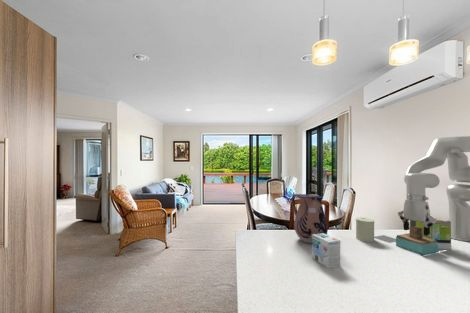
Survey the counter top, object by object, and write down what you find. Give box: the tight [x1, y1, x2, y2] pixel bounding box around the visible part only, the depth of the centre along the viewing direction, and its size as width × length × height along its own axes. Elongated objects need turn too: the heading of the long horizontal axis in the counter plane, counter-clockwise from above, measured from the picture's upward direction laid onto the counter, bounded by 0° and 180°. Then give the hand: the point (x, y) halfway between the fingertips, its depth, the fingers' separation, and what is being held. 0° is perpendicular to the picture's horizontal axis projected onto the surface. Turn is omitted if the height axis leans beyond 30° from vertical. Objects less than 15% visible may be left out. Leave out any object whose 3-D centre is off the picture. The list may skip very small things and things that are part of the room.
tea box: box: [409, 215, 452, 251], centre depth 120 cm, size 15×10×15 cm
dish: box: [395, 236, 439, 257], centre depth 113 cm, size 12×12×5 cm
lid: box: [396, 226, 437, 245], centre depth 113 cm, size 12×12×6 cm
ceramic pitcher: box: [290, 193, 329, 244], centre depth 125 cm, size 18×21×25 cm
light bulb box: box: [311, 233, 341, 269], centre depth 98 cm, size 11×7×11 cm, turn 19°
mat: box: [374, 234, 396, 244], centre depth 127 cm, size 10×10×1 cm
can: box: [355, 217, 375, 243], centre depth 126 cm, size 9×9×12 cm
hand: (416, 232), depth 113 cm, fingers open, 8 cm apart
